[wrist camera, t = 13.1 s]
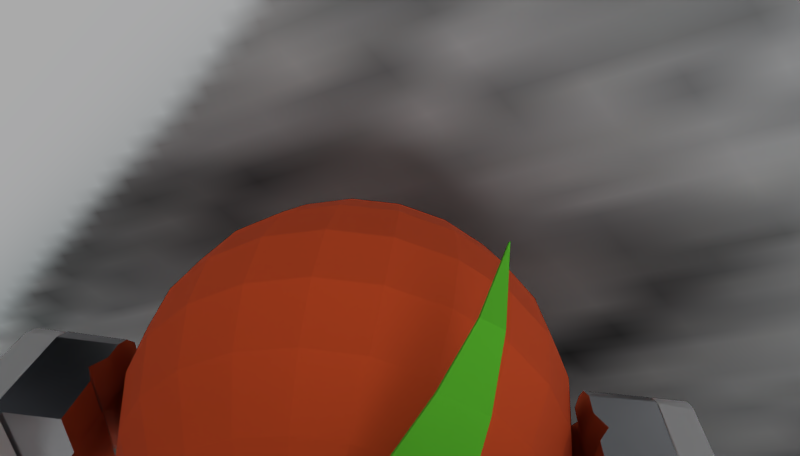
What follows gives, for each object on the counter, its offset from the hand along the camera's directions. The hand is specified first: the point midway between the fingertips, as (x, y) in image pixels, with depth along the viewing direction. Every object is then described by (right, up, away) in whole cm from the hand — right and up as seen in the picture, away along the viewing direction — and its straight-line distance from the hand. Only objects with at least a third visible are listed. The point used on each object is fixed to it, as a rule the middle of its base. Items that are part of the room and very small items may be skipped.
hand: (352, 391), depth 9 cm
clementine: (+1, +2, +3) cm, 4 cm away
